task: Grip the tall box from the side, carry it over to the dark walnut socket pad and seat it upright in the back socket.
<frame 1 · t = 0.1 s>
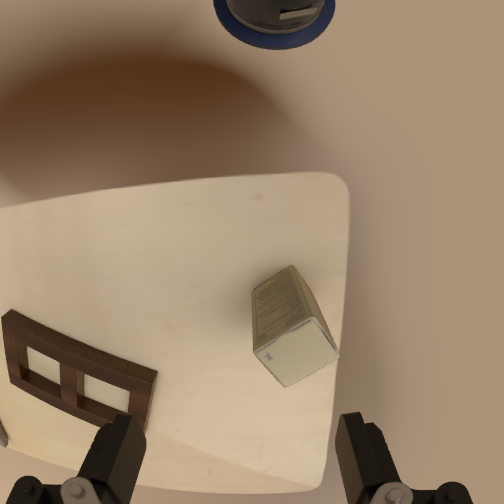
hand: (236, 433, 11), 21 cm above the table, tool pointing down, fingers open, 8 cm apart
socket pad: (75, 374, 36), on the table
box: (283, 292, 33), on the table
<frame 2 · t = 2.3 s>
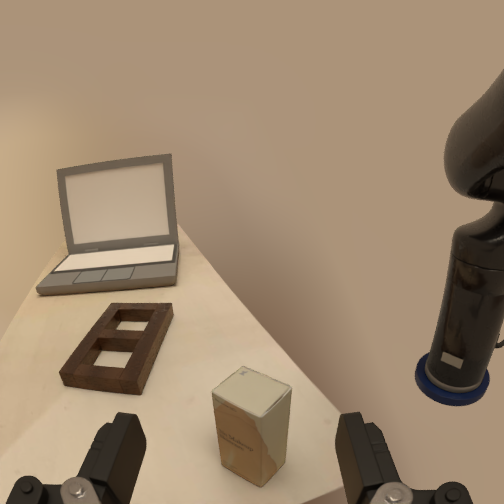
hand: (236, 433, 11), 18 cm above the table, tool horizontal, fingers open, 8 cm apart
laptop: (114, 272, 80), on the table
socket pad: (124, 347, 48), on the table
box: (254, 465, 27), on the table
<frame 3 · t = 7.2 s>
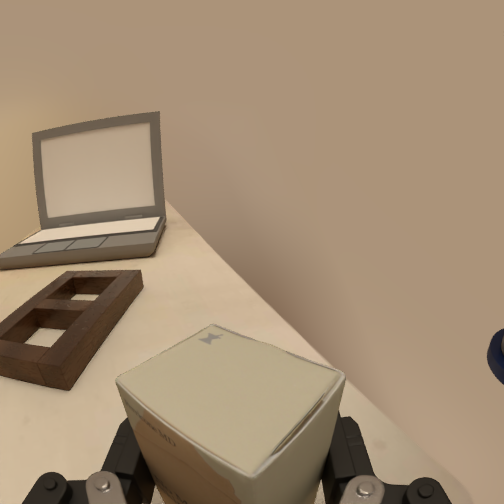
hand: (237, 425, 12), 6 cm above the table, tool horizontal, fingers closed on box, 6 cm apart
laptop: (86, 246, 65), on the table
socket pad: (68, 324, 32), on the table
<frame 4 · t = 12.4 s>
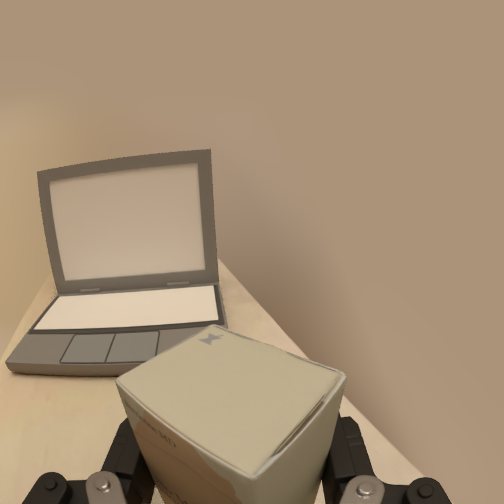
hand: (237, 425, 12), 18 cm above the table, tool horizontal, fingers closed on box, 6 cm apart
laptop: (124, 332, 51), on the table
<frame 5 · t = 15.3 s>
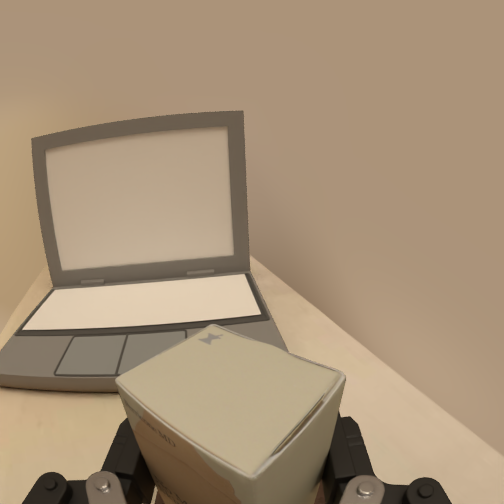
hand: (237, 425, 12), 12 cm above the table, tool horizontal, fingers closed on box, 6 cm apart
laptop: (137, 333, 41), on the table
when the fingers open (6 cm above the table, at t = 17.5 s): box stays where it is, resting in socket pad.
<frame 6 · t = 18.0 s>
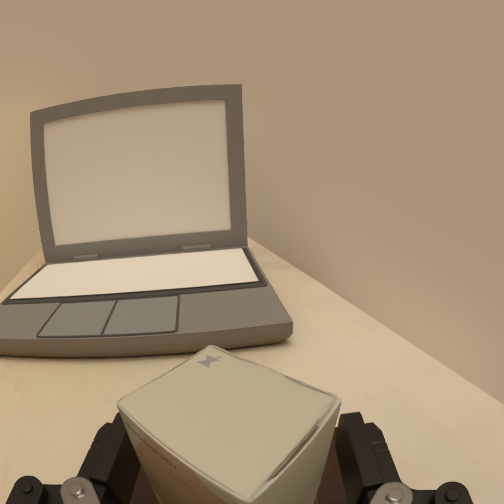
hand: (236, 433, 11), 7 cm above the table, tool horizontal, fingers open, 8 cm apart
laptop: (129, 303, 39), on the table
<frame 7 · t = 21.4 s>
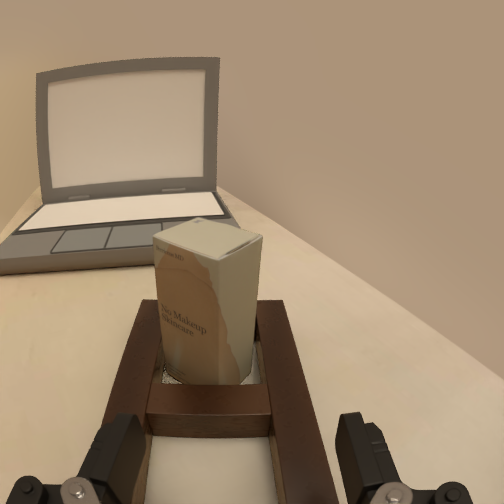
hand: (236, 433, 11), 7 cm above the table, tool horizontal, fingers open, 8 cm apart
laptop: (119, 232, 48), on the table
socket pad: (210, 422, 19), on the table
box: (210, 375, 23), resting in socket pad
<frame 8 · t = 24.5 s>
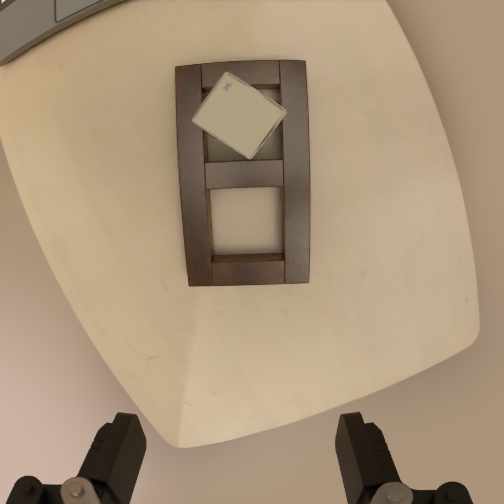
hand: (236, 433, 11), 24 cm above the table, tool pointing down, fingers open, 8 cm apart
socket pad: (244, 172, 32), on the table
box: (242, 126, 31), resting in socket pad
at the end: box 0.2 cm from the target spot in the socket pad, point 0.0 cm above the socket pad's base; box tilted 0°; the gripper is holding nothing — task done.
